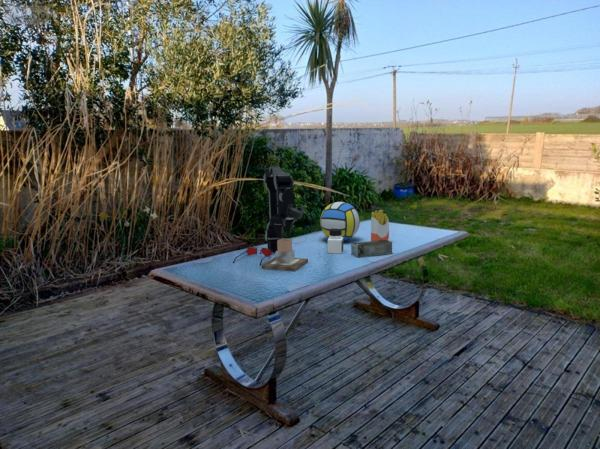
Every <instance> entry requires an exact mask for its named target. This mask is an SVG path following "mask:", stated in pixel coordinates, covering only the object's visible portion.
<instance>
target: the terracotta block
mask: <svg viewBox="0 0 600 449" xmlns="http://www.w3.org/2000/svg"><path fill="white" fill-rule="evenodd" d="M277 248H278V252H289V251H291V250H292V249H293V238H286V237H285V238H282V239H279V240H277Z"/></svg>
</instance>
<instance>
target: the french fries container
mask: <svg viewBox="0 0 600 449" xmlns="http://www.w3.org/2000/svg"><path fill="white" fill-rule="evenodd" d="M389 221H390V220H389V217H388V216H387V213H384V210H383V209H380V210H375V212H373V211H372V212H371V218H370V241H377V240H381V239H382V240H388V241H389V239H390V223H389Z"/></svg>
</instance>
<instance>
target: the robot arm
mask: <svg viewBox="0 0 600 449" xmlns="http://www.w3.org/2000/svg"><path fill="white" fill-rule="evenodd" d="M263 183H264V187H265V188H266V190H267V191H268V204H269V206H268V207H269V211H268V212H269V221H268V223H267V225H266V229H265V234H264V240H265V241H266V243H267V248H269V249H268V250H270V249H271V250H270V251H272V252H273V253H272V254H276V251H278V248H277V240H279V239H282V238H284V236H285V232H286V235H287V236H290V235H291V231H292V227H293V224H294V223H295V221H296V220H300V219H301V220H302V217H303V215H304V213H305V212H304V209H303V207H301V206H298V207H296V208H295V207H293V203H294V202H295V200H296V195H295V193H294V192H293V191H292V190H295V186H296V185H295V180H294V177H293V176H292V174H291V173H290V172H284V171H283V170H282V168H281V166H279V165H271V166H269V167H268V169H267V170H266V171H265V172H264V175H263ZM284 230H285V231H284Z"/></svg>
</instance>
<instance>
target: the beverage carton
mask: <svg viewBox="0 0 600 449" xmlns="http://www.w3.org/2000/svg"><path fill="white" fill-rule="evenodd" d="M350 247H351V248H350V251H351V252H350V253H351V256H354V257H356V258H358V259H359V258H367V257H368V258H369V257H377V255H378V256H383V255H385V254H386V255H392V254H393V242H392V241H390V240H389V239H388V240H382V239H381V240H377V241H371V240H370V241H363V242H362V241H360V242H352V243H350Z"/></svg>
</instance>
